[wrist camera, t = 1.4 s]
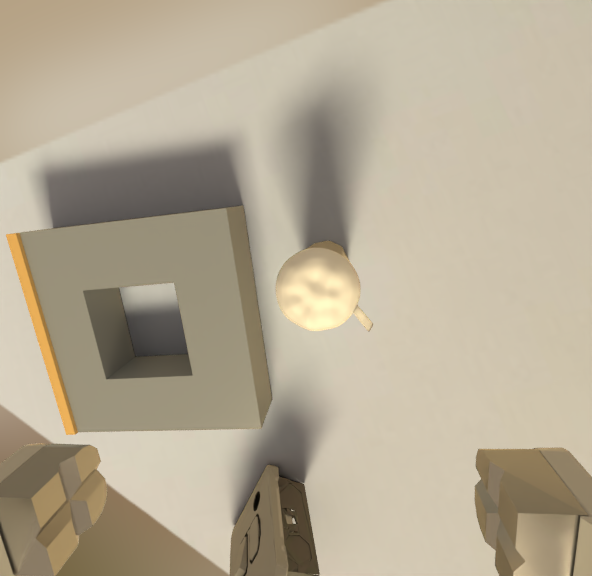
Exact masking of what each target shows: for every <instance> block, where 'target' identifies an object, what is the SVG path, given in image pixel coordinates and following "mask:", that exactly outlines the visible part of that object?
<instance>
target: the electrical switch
mask: <svg viewBox="0 0 592 576" xmlns="http://www.w3.org/2000/svg"><path fill="white" fill-rule="evenodd" d="M291 509H292V510H294V511H291ZM292 518H294V519H295V521H296V524H293V522H292ZM313 574H318V575H313ZM319 575H320V573H319V567H318V562H317V556H316V550H315V544H314V538H313V533H312V527H311V521H310V515H309V509H308V504H307V498H306V492H305V486H304V484H302V483H298V482H293V481H291V480H289V479H287V478H281V477H279V468H278V467H277V466H273V465H267V466H266V468H265V470H264V472H263V473H262V475H261V477H260V479H259V481H258V483H257V485H256V487H255V489H254V491H253V493H252V494H251V496H250V498H249V500H248V502H247V504H246V506H245V508H244V510H243V512H242V513H241V515H240V517H239V519H238V521H237V523H236V525H235V527H234V529H233V532H232V537H231V552H230V576H319Z"/></svg>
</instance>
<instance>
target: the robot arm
mask: <svg viewBox="0 0 592 576" xmlns="http://www.w3.org/2000/svg"><path fill="white" fill-rule="evenodd" d="M100 462H101V460H100V457H99V453H98V450H97V448H95V447H93V446H91V445H74V444H29V445H25V446H23V447H21V448H20V449H19V450H18V451H16V452H15V453H14V454H13V455H11V456H10V457H9V458H8V459H6V460H5V461H4V462H2V463H1V464H0V576H14V575H16V576H55V575H56V574H57V573H58V571H59V570H60V569H61V567H62V566H63V565H64V563H65V562H66V561H67V559H68V558H69V557H70V555H71V554H72V553H73V551H74V550H75V549H76V548H77V546H78V542H79V535H80V534H81V533H83V532H84V531H86V530H87V529H89V528H90V527H92V526H93V525H94V523H95V522H96V520H97V519H98V518H99V516H100V515H101V513H102V510H103V508H104V504H105V502H106V499H107V486H106V481H105V478H104V477H103V476H102V475H101V474H100V473H99V471H98V470H97V468H98V466H99V464H100ZM476 469H477V471H478V473H479V475H480V477H481V480H480V481H479V482H478V483H477V484H476V485H475V506H476V513H477V518H478V522H479V525H480V529H481V532H482V534H483V537H484V539H485V542H486V543H488V544H489V545H490V546H491V547H492V548H493V549H495V550H496V556H495V566H496V569H497V571H498V573H499V576H592V477H591V476H590V474H589V473H588V472H587V471H586V470H585V469H584V468H583V466H582V465H581V464H580V463H579V462H578V461H577V460H576V459H575V457H574V456H573V455H572V454H571V453H570V452H569V451H568V450H566V449H564V448H534V449H478V452H477V455H476Z"/></svg>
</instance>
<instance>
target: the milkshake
mask: <svg viewBox="0 0 592 576" xmlns="http://www.w3.org/2000/svg"><path fill="white" fill-rule="evenodd" d="M276 296H277V300H278V304H279V307H280V309H281V311H282V312H283V314H284V315H285V316H286V317H287V318H288V319H289V320H290V321H292V322H293V323H295V324H297V325H299V326H301V327H302V328H305V329H307V330H311V331H319V330H326V329H332V328H335V327H338V326H340V325H341V324H343V323H344V322H345V321H346V320H347V319H348V318H349V317H350V316H351V315H352V313H354V314H355V315H356V317H357V318H358V319H359V320H360V322H361V323H362V324H363V326H364V327H365V328H366V329H367V330H368V331H370V329H371V328H372V326H373V323H372V322H371V321H370V319H369V318H368V317H367V316H366V315H365V314H364V312H363V311H362V310H361V309H360V308H359V306H358V305H357V304H358V301H359V298H360V282H359V278H358V275H357V273H356V271H355V269H354V267H353V266H352V264H351V263H350V261H349V259H348V257H347V255H346V253H345V251H344V249H343V248H342V246H340V245H338V244H336V243H334V242H332V241H330V240H329V241H323V242H317V243H314V244H313V245H311V246H310V247H308V248H307V249H305V250H302V251H300V252H298V253H296V254H295V255H293V256H292V257H290V258H289V259H288V260H287V261H286V262H285V263H284V265H283V266H282V268H281V270H280V272H279V274H278V277H277V281H276Z"/></svg>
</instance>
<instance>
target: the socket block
mask: <svg viewBox="0 0 592 576" xmlns="http://www.w3.org/2000/svg"><path fill="white" fill-rule="evenodd" d="M6 237H7V240H8V243H9V247H10V250H11V253H12V256H13V260H14V263H15V266H16V270H17V273H18V276H19V280H20V283H21V286H22V289H23V293H24V296H25V299H26V303H27V306H28V309H29V313H30V316H31V319H32V322H33V326H34V329H35V332H36V336H37V339H38V342H39V346H40V349H41V352H42V356H43V359H44V362H45V365H46V369H47V372H48V375H49V379H50V382H51V385H52V389H53V392H54V395H55V398H56V402H57V405H58V408H59V412H60V415H61V418H62V422H63V425H64V428H65V431H66V435H73V434H76V433H78V432H110V431H163V430H216V429H261V428H262V426H263V423H264V420H265V418H266V415H267V412H268V409H269V407H270V404H271V401H272V395H271V388H270V381H269V375H268V368H267V361H266V354H265V348H264V341H263V334H262V327H261V321H260V314H259V307H258V300H257V294H256V287H255V280H254V273H253V267H252V260H251V253H250V247H249V240H248V233H247V226H246V220H245V213H244V206H235V207H226V208H218V209H210V210H201V211H193V212H185V213H176V214H168V215H160V216H151V217H143V218H135V219H127V220H118V221H110V222H102V223H93V224H85V225H77V226H68V227H60V228H52V229H44V230H37V231H29V232H22V233H14V234H7V235H6ZM163 283H174V285H175V290H176V295H177V300H178V305H179V310H180V314H181V319H182V324H183V329H184V334H185V339H186V344H187V349H188V354H178V355H159V356H141V357H135V354H134V350H133V346H132V342H131V337H130V333H129V329H128V325H127V321H126V316H125V312H124V308H123V304H122V300H121V296H120V291H119V287H129V286H141V285H152V284H163Z"/></svg>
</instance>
